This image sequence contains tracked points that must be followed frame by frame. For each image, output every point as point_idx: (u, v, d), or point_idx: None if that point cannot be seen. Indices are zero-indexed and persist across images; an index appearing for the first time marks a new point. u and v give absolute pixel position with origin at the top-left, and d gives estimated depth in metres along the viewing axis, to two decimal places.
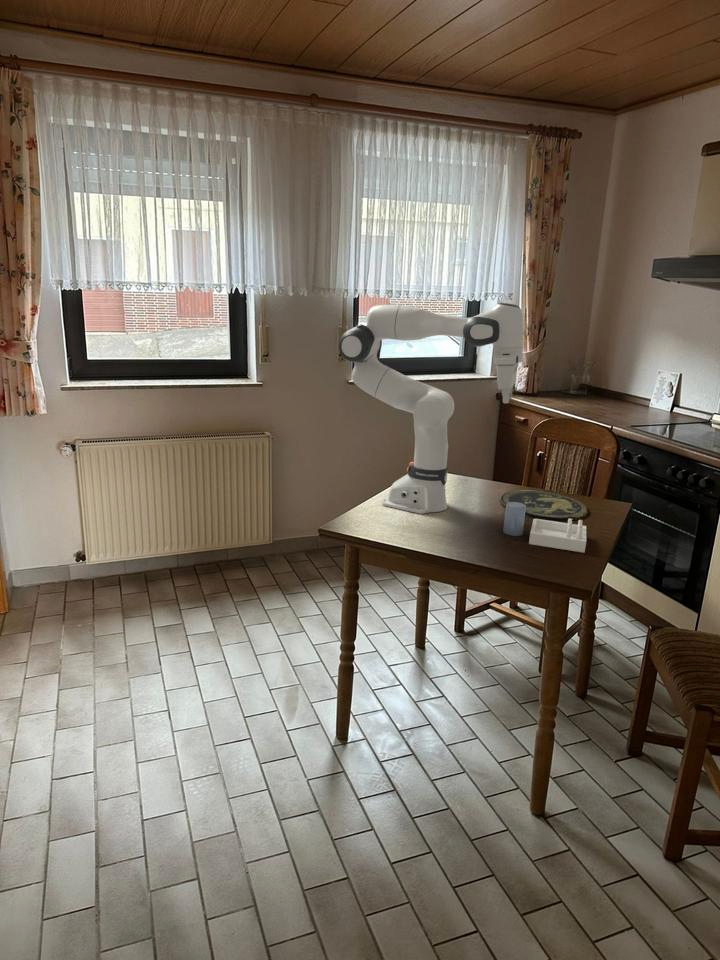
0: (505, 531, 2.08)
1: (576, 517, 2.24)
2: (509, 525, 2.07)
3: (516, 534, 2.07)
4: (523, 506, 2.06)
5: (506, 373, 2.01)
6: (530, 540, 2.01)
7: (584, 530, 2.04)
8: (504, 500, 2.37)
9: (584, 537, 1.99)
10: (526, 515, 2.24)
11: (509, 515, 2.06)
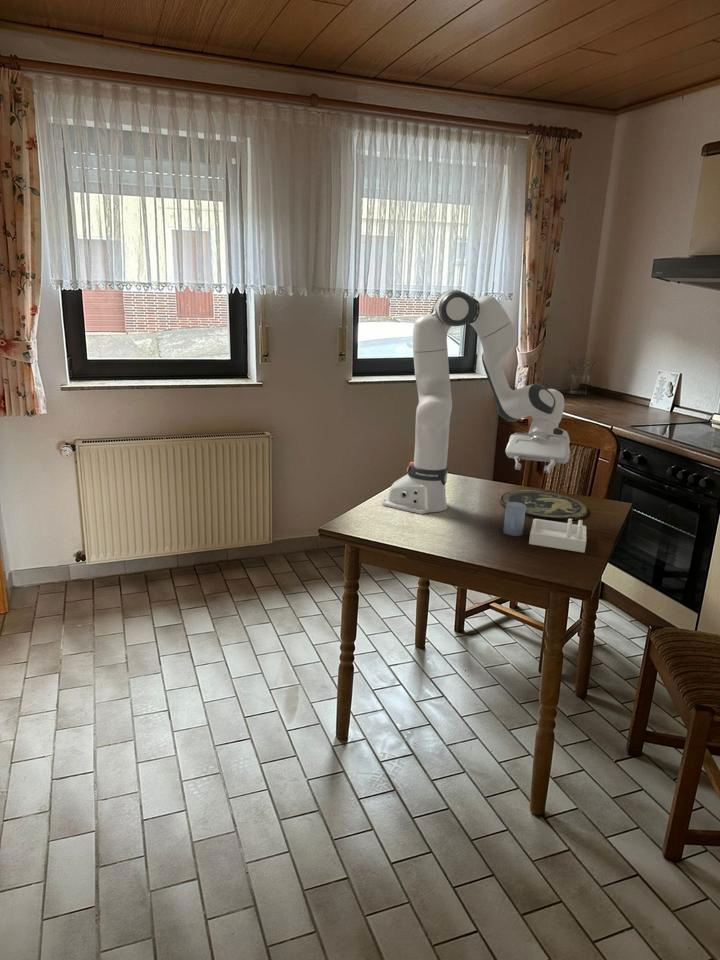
0: (505, 531, 2.08)
1: (576, 517, 2.24)
2: (509, 525, 2.07)
3: (516, 534, 2.07)
4: (523, 506, 2.06)
5: (569, 449, 2.14)
6: (530, 540, 2.01)
7: (584, 530, 2.04)
8: (504, 500, 2.37)
9: (584, 537, 1.99)
10: (526, 515, 2.24)
11: (509, 515, 2.06)
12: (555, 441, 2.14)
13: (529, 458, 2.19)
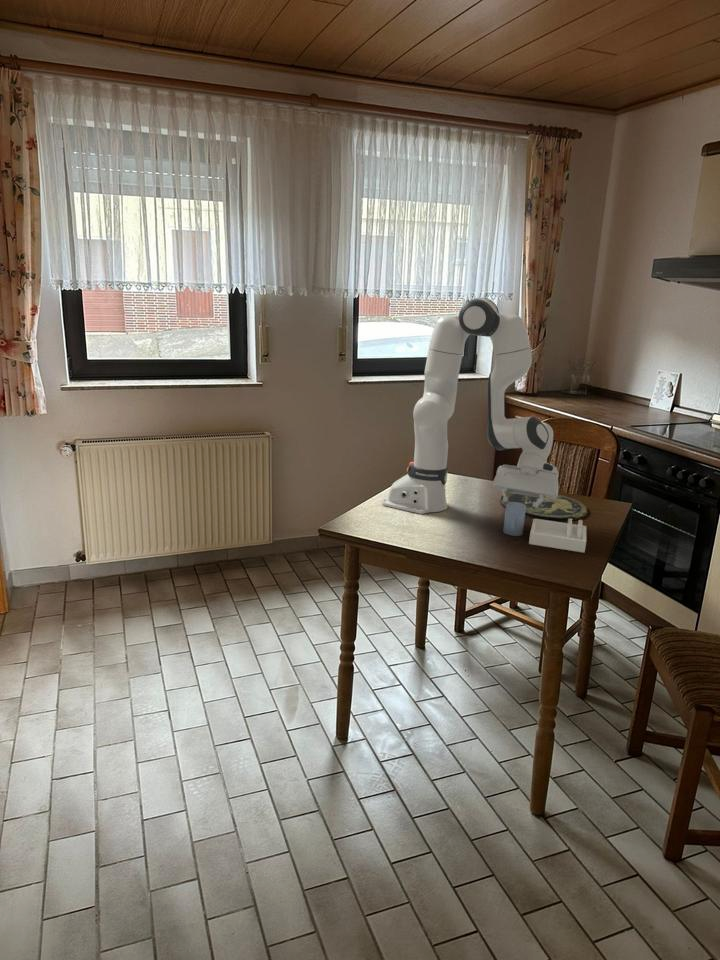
0: (505, 531, 2.08)
1: (576, 517, 2.24)
2: (509, 525, 2.07)
3: (516, 534, 2.07)
4: (523, 506, 2.06)
5: None
6: (530, 540, 2.01)
7: (584, 530, 2.04)
8: None
9: (584, 537, 1.99)
10: (526, 515, 2.24)
11: (509, 515, 2.06)
12: (545, 477, 2.10)
13: (517, 492, 2.14)
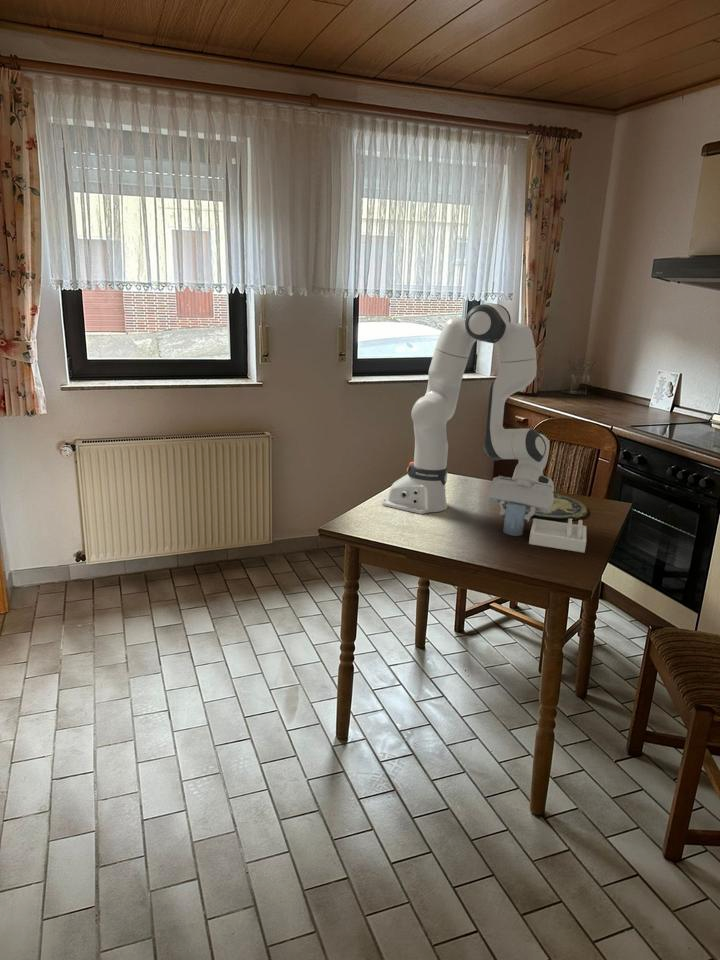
0: (505, 531, 2.08)
1: (576, 517, 2.24)
2: (509, 525, 2.07)
3: (516, 534, 2.07)
4: (523, 506, 2.06)
5: (553, 498, 2.08)
6: (530, 540, 2.01)
7: (584, 530, 2.04)
8: None
9: (584, 537, 1.99)
10: None
11: (509, 515, 2.06)
12: (540, 489, 2.08)
13: None
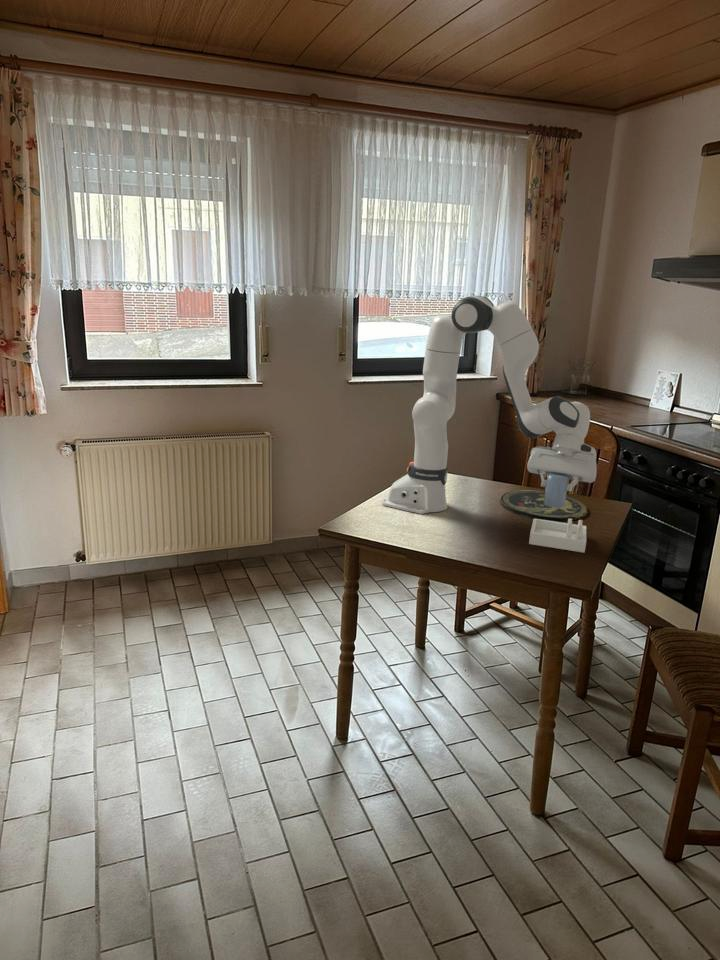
0: (546, 503, 2.01)
1: (576, 517, 2.24)
2: (551, 496, 2.00)
3: (558, 505, 2.00)
4: (565, 477, 1.99)
5: None
6: (530, 540, 2.01)
7: (584, 530, 2.04)
8: (504, 500, 2.37)
9: (584, 537, 1.99)
10: (526, 515, 2.24)
11: (551, 486, 1.99)
12: (582, 458, 2.01)
13: None
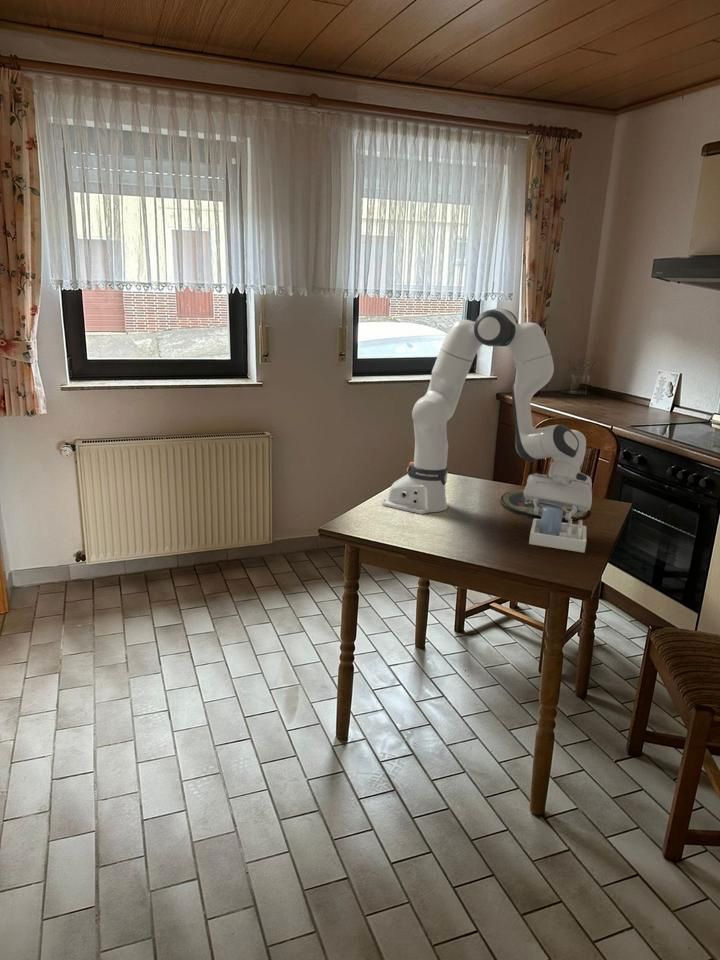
0: None
1: (576, 517, 2.24)
2: (546, 528, 2.03)
3: None
4: (560, 509, 2.02)
5: None
6: (530, 540, 2.01)
7: (584, 530, 2.04)
8: (504, 500, 2.37)
9: (584, 537, 1.99)
10: (526, 515, 2.24)
11: (546, 518, 2.02)
12: (578, 487, 2.03)
13: (548, 502, 2.07)
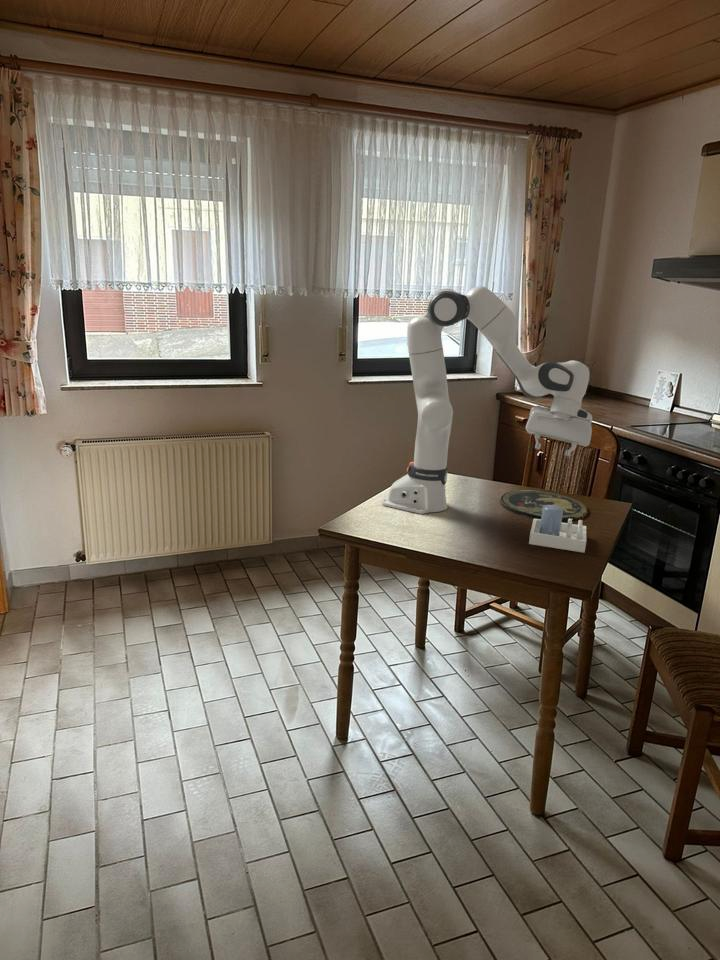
0: None
1: (576, 517, 2.24)
2: (546, 528, 2.02)
3: None
4: (560, 509, 2.02)
5: (591, 431, 2.10)
6: (530, 540, 2.01)
7: (584, 530, 2.04)
8: (504, 500, 2.37)
9: (584, 537, 1.99)
10: (526, 515, 2.24)
11: (546, 518, 2.02)
12: (578, 424, 2.09)
13: (549, 436, 2.15)
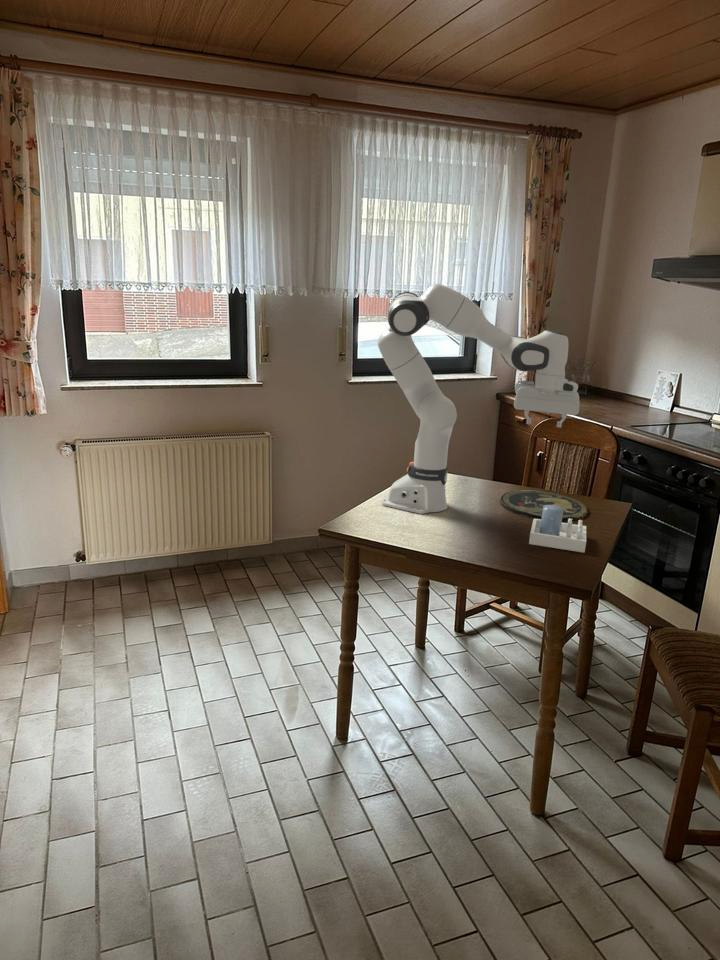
0: None
1: (576, 517, 2.24)
2: (546, 528, 2.02)
3: None
4: (560, 509, 2.02)
5: None
6: (530, 540, 2.01)
7: (584, 530, 2.04)
8: (504, 500, 2.37)
9: (584, 537, 1.99)
10: (526, 515, 2.24)
11: (546, 518, 2.02)
12: (566, 396, 2.10)
13: None
